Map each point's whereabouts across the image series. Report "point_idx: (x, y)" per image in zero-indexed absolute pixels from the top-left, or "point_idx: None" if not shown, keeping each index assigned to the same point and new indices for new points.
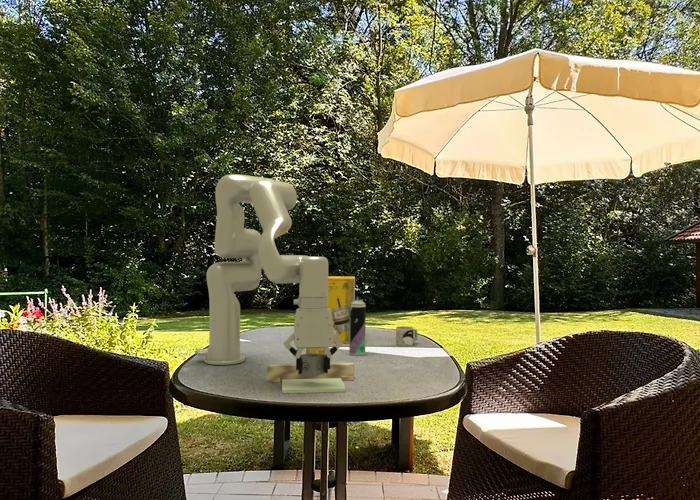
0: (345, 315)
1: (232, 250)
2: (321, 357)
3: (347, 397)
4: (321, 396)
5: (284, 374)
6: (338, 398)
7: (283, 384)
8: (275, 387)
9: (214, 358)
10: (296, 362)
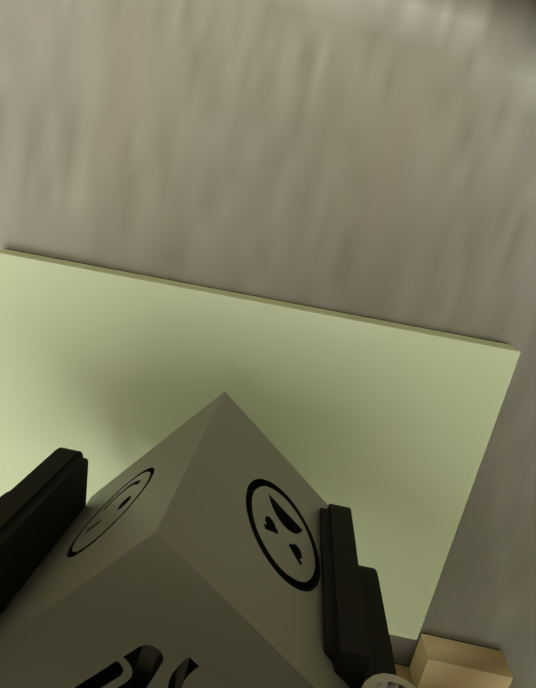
0: None
1: None
2: (21, 613)
3: (14, 69)
4: (219, 163)
5: None
6: (91, 56)
7: (451, 512)
8: (499, 520)
9: None
10: (388, 638)
